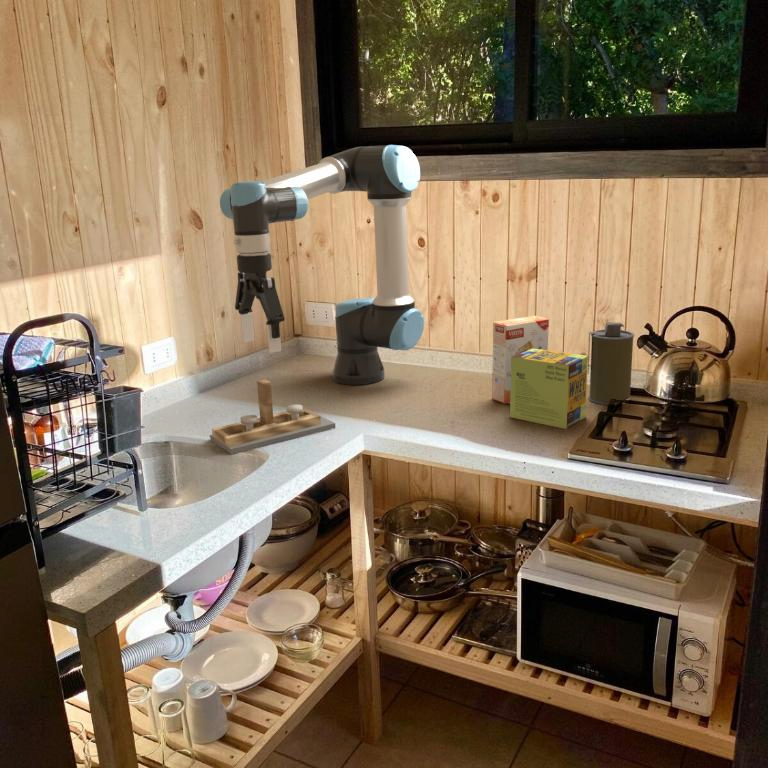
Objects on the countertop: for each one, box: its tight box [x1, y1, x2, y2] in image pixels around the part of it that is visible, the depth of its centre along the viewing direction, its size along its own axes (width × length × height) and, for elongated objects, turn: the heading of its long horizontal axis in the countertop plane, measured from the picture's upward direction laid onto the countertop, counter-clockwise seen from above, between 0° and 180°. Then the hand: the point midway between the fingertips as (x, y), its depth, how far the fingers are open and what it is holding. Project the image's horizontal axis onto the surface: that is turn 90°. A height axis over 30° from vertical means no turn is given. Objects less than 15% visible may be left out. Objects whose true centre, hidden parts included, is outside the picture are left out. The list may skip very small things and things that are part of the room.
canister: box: [587, 321, 635, 406], centre depth 203 cm, size 11×10×20 cm
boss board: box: [209, 404, 336, 455], centre depth 189 cm, size 27×12×5 cm, turn 125°
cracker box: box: [491, 315, 550, 405], centre depth 207 cm, size 14×6×21 cm, turn 119°
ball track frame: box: [211, 379, 321, 447], centre depth 187 cm, size 24×9×12 cm, turn 125°
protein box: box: [509, 349, 588, 429], centre depth 192 cm, size 10×15×16 cm
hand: (261, 346), depth 183 cm, fingers open, 13 cm apart
